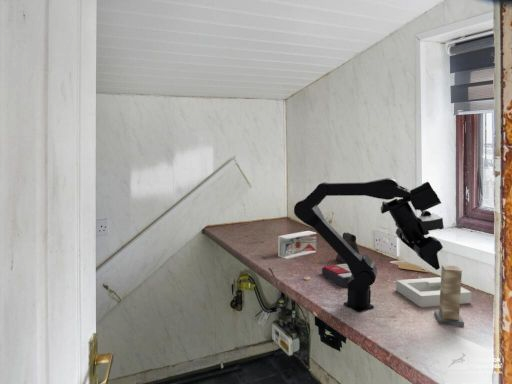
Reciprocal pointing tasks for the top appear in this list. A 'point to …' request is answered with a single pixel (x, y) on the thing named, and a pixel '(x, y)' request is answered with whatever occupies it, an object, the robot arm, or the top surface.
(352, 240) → the phone stand
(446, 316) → the keyhole post
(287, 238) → the cigarette display
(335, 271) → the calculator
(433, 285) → the keyhole plate
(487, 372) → the top surface
